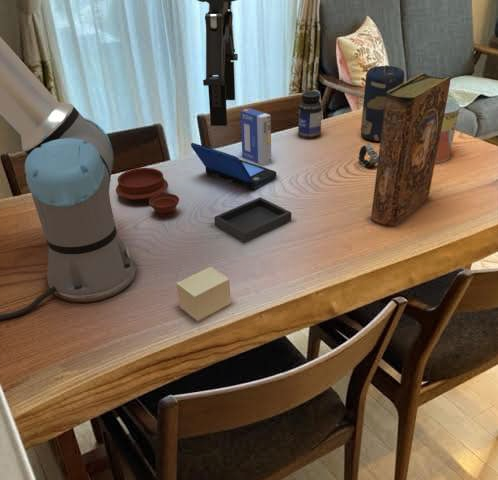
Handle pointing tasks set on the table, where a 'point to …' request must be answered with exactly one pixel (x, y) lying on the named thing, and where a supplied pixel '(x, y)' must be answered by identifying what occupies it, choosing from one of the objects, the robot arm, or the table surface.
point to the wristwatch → (371, 153)
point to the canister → (378, 98)
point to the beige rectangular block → (204, 293)
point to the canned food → (447, 131)
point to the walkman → (256, 136)
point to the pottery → (147, 189)
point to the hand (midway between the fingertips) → (223, 111)
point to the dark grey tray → (252, 219)
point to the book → (408, 147)
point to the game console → (232, 167)
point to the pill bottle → (310, 115)
